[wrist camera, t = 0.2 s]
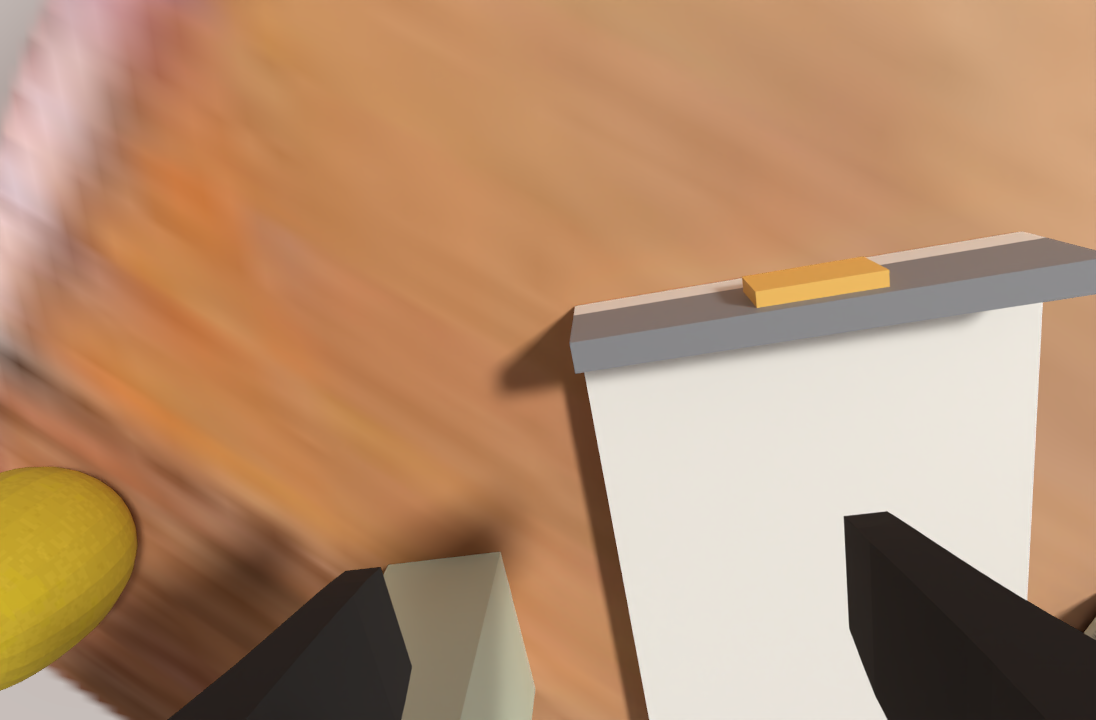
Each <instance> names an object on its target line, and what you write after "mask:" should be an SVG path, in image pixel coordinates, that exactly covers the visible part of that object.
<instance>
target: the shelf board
mask: <svg viewBox="0 0 1096 720" xmlns="http://www.w3.org/2000/svg"><path fill="white" fill-rule="evenodd" d="M1094 294H1096V250H1092V249H1088V248H1084V247H1080V246H1077V245H1073V244H1069V243H1065V242H1061V241H1057V240H1053V239H1049V238H1046V237H1042V236H1038V235H1034V234H1030V233H1026V232H1016V233H1010V234H1004V235H998V236H992V237H986V238H980V239H974V240H968V241H962V242H956V243H950V244H944V245H938V246H932V247H926V248H920V249H914V250H908V251H902V252H896V253H890V254H884V255H878V256H872V257H866V258H865V257H857V258H851V259H845V260H839V261H833V262H827V263H821V264H815V265H809V266H804V267H798V268H792V269H786V270H780V271H774V272H768V273H762V274H756V275H750V276H744V277H742V278H740V279H734V280H728V281H722V282H716V283H710V284H704V285H698V286H692V287H687V288H681V289H675V290H669V291H663V292H657V293H651V294H645V295H639V296H633V297H627V298H621V299H615V300H609V301H603V302H597V303H591V304H585V305H579V306H575V310H574V317H573V323H572V330H571V336H570V348H571V353H572V359H573V364H574V369H575V374H576V373H583V372H584V373H585V379H586V384H587V390H588V395H589V400H590V406H591V411H592V416H593V422H594V427H595V432H596V438H597V443H598V448H599V454H600V459H601V464H602V470H603V475H604V480H605V486H606V491H607V496H608V502H609V507H610V513H611V518H612V523H613V529H614V534H615V539H616V545H617V550H618V555H619V561H620V566H621V571H622V577H623V582H624V587H625V593H626V598H627V603H628V609H629V614H630V619H631V625H632V630H633V636H634V641H635V646H636V652H637V657H638V662H639V668H640V673H641V678H642V684H643V689H644V694H645V700H646V705H647V710H648V716H649V720H887V718H886V716H885V714H884V712H883V710H882V708H881V706H880V704H879V702H878V700H877V699H876V697H875V694H874V692H873V689H872V687H871V684H870V682H869V679H868V677H867V674H866V672H865V669H864V667H863V664H862V662H861V659H860V656H859V654H858V651H857V648H856V646H855V643H854V640H853V638H852V635H851V632H850V630H849V618H848V597H847V577H846V556H845V535H844V516H849V515H858V514H867V513H876V512H885V511H888V512H889V513H891V514H893V515H894V516H896V517H897V518H899V519H901V520H902V521H904V522H905V523H907V524H908V525H910V526H911V527H913V528H914V529H916V530H917V531H919V532H920V533H922V534H923V535H925V536H926V537H928V538H929V539H931V540H932V541H934V542H935V543H937V544H938V545H940V546H942V547H943V548H945V549H946V550H948V551H949V552H951V553H952V554H954V555H955V556H957V557H958V558H960V559H961V560H963V561H964V562H966V563H968V564H969V565H971V566H972V567H974V568H975V569H977V570H978V571H980V572H982V573H983V574H985V575H986V576H988V577H989V578H991V579H993V580H994V581H996V582H997V583H999V584H1001V585H1002V586H1004V587H1005V588H1007V589H1009V590H1010V591H1012V592H1014V593H1015V594H1017V595H1019V596H1020V597H1022V598H1023V599H1025V600H1027V592H1028V573H1029V554H1030V535H1031V516H1032V497H1033V478H1034V459H1035V440H1036V420H1037V401H1038V382H1039V363H1040V344H1041V325H1042V306H1043V302H1048V301H1054V300H1061V299H1067V298H1074V297H1081V296H1087V295H1094Z"/></svg>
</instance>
